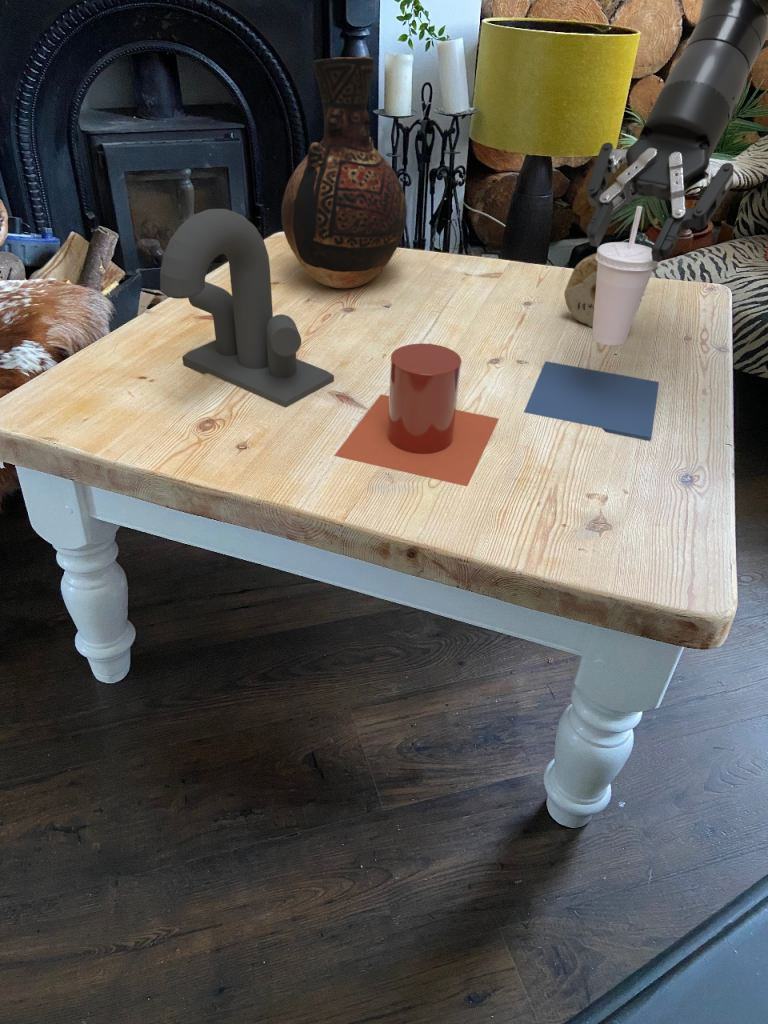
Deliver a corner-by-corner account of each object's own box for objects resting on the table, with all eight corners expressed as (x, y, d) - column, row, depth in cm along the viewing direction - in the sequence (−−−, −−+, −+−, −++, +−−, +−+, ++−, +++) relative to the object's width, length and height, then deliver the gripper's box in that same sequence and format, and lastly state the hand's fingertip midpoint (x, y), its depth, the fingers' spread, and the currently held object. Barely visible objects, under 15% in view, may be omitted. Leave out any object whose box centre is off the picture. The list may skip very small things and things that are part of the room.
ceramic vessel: (354, 314, 105) (356, 69, 87) (257, 287, 112) (240, 55, 94) (426, 272, 119) (441, 55, 101) (337, 250, 126) (335, 43, 108)
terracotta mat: (380, 397, 86) (380, 394, 86) (498, 421, 83) (499, 418, 83) (334, 458, 76) (333, 455, 75) (466, 489, 72) (467, 486, 72)
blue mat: (544, 363, 95) (545, 361, 94) (658, 384, 91) (658, 381, 91) (523, 415, 84) (523, 411, 84) (650, 440, 81) (651, 437, 80)
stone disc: (637, 330, 104) (655, 259, 98) (627, 339, 102) (645, 266, 95) (568, 311, 109) (582, 242, 103) (557, 319, 106) (570, 249, 100)
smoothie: (645, 335, 84) (678, 206, 75) (627, 356, 80) (660, 221, 71) (591, 322, 87) (617, 195, 78) (571, 341, 82) (596, 209, 74)
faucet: (130, 385, 87) (95, 206, 74) (230, 341, 97) (213, 177, 84) (239, 438, 78) (220, 246, 66) (336, 384, 88) (335, 209, 76)
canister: (438, 415, 83) (445, 340, 77) (463, 448, 77) (472, 370, 72) (378, 424, 81) (381, 347, 75) (400, 458, 75) (404, 378, 70)
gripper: (624, 69, 76) (552, 214, 76) (770, 86, 69) (692, 245, 69) (631, 120, 83) (565, 253, 82) (765, 140, 76) (694, 285, 76)
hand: (623, 249), depth 76 cm, fingers closed on smoothie, 6 cm apart
